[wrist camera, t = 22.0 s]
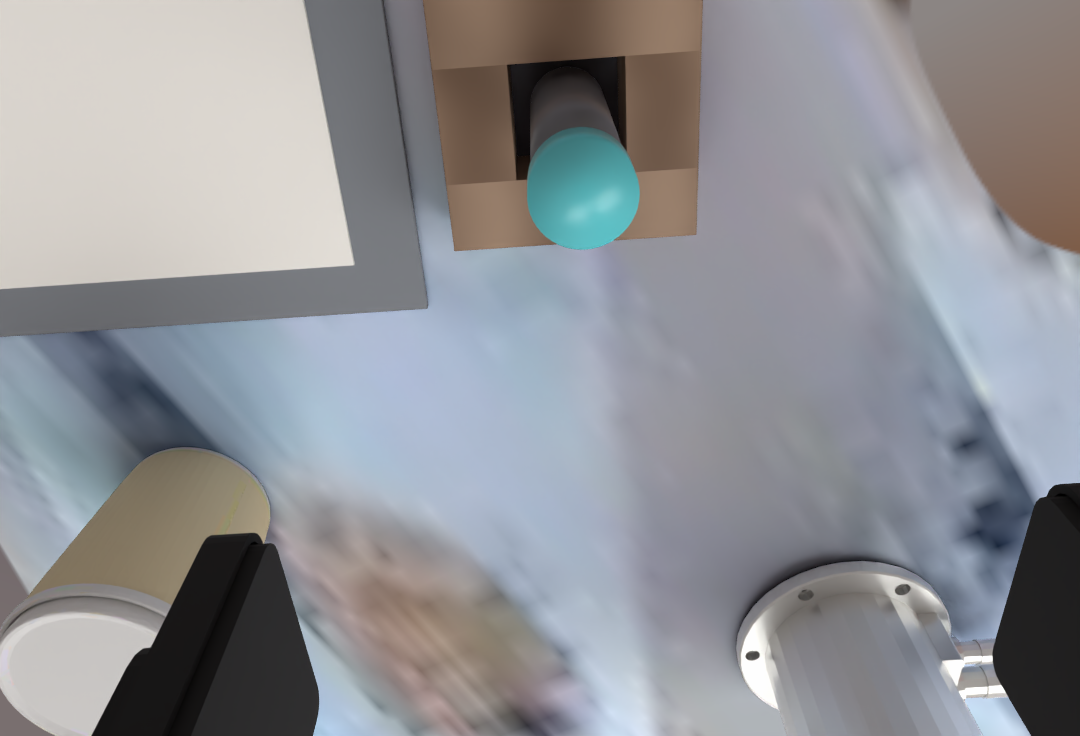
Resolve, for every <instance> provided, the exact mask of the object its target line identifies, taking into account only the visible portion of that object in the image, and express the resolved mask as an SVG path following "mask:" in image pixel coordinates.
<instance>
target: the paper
mask: <svg viewBox="0 0 1080 736" xmlns="http://www.w3.org/2000/svg"><path fill="white" fill-rule="evenodd" d="M354 264H355V262H354V257H353V252H352V246H351V241H350V236H349V231H348V225H347V220H346V215H345V210H344V205H343V199H342V194H341V189H340V184H339V178H338V173H337V168H336V163H335V158H334V152H333V147H332V142H331V137H330V131H329V126H328V121H327V116H326V111H325V105H324V100H323V95H322V90H321V85H320V79H319V74H318V69H317V64H316V58H315V53H314V48H313V43H312V38H311V32H310V27H309V22H308V17H307V11H306V6H305V1H304V0H0V289H11V288H26V287H40V286H55V285H70V284H85V283H100V282H115V281H129V280H144V279H159V278H174V277H189V276H203V275H218V274H233V273H248V272H263V271H278V270H292V269H307V268H322V267H337V266H352V265H354Z"/></svg>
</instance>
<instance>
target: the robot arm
mask: <svg viewBox="0 0 1080 736" xmlns="http://www.w3.org/2000/svg"><path fill="white" fill-rule="evenodd" d="M736 652H737V660H738V664H739V667H740V670H741V673H742V677H743V679H744V681H745V682H746V684H747V686H748V687H749V689H750V690H751V691H752V692H753V693H754V694H755V695H756V696H757V697H758V698H759V699H760V700H762V701H764V702H765V703H767V704H768V705H770V706H772V707H773V708H776V709H778V710H779V711H780V715H781V718H782V721H783V725H784V728H785V731H786V734H787V736H983V735H982V733H981V731H980V729H979V727H978V725H977V723H976V721H975V720H974V718H973V716H972V714H971V712H970V710H969V708H968V707H967V705H966V703H965V698H975V697H982V698H983V699H984V698H1002V697H1009V699H1010V701H1011V702H1012V704H1013V706H1014V707H1015V709H1016V711H1017V713H1018V714H1019V716H1020V718H1021V719H1022V721H1023V723H1024V724H1025V726H1026V728H1027V729H1028V731H1029V733H1030V734H1031V736H1080V483H1072V484H1059V485H1055V486H1053V487H1052V488H1051V489H1050V490H1049V492H1048V495H1047V497H1043V498H1040V499H1039V500H1038V501H1037V502H1036V504H1035V506H1034V509H1033V512H1032V516H1031V519H1030V523H1029V526H1028V529H1027V533H1026V536H1025V540H1024V543H1023V547H1022V550H1021V554H1020V557H1019V560H1018V564H1017V567H1016V571H1015V574H1014V578H1013V581H1012V585H1011V588H1010V591H1009V595H1008V598H1007V602H1006V605H1005V609H1004V612H1003V616H1002V619H1001V622H1000V626H999V629H998V633H997V636H996V639H980V640H973V641H965V642H959V640H958V639H957V638H955V637H951V622H950V618H949V614H948V611H947V610H946V608H945V606H944V604H943V602H942V600H941V599H940V597H939V595H938V594H937V593H936V592H935V590H934V589H933V588H932V587H931V585H930V584H929V583H927V582H926V581H925V580H923V579H922V578H921V577H919V576H918V575H916V574H914V573H912V572H910V571H908V570H906V569H903V568H901V567H897V566H893V565H889V564H885V563H879V562H868V561H855V562H840V563H835V564H830V565H825V566H820V567H817V568H814V569H811V570H808V571H805V572H802V573H800V574H798V575H796V576H794V577H792V578H790V579H788V580H786V581H784V582H782V583H781V584H779V585H778V586H776V587H775V588H774V589H772V590H771V591H769V592H768V593H766V594H765V595H764V596H763V597H762V598H761V599H760V600H759V601H758V602H757V603H756V604H755V605H754V606H753V607H752V609H751V610H750V612H749V613H748V615H747V616H746V617H745V619H744V620H743V623H742V625H741V628H740V630H739V633H738V637H737V644H736ZM964 664H976V665H975V666H964ZM318 710H319V691H318V686H317V683H316V679H315V676H314V672H313V669H312V666H311V662H310V659H309V656H308V652H307V649H306V645H305V642H304V639H303V635H302V632H301V629H300V625H299V622H298V618H297V615H296V612H295V608H294V605H293V601H292V598H291V595H290V591H289V588H288V585H287V581H286V578H285V574H284V571H283V568H282V564H281V561H280V558H279V554H278V551H277V549H276V547H275V545H274V544H271V543H269V544H263V542H262V539H261V537H260V536H259V535H258V534H257V533H239V534H223V535H210V536H209V537H207V538H206V539H205V541H204V542H203V544H202V545H201V547H200V549H199V551H198V553H197V555H196V557H195V559H194V561H193V563H192V565H191V567H190V569H189V572H188V574H187V576H186V578H185V580H184V582H183V584H182V586H181V588H180V590H179V592H178V594H177V596H176V598H175V600H174V602H173V604H172V606H171V608H170V610H169V612H168V614H167V616H166V618H165V620H164V622H163V624H162V626H161V628H160V630H159V632H158V634H157V636H156V638H155V640H154V642H153V644H152V646H151V647H150V648H143V649H142V650H140V651H139V652H138V653H137V654H135V655H134V657H133V658H132V660H131V661H130V663H129V664H128V666H127V668H126V669H125V671H124V673H123V675H122V677H121V679H120V681H119V683H118V685H117V687H116V689H115V691H114V693H113V695H112V697H111V698H110V700H109V702H108V704H107V706H106V708H105V710H104V712H103V714H102V716H101V718H100V720H99V722H98V724H97V726H96V728H95V729H94V731H93V733H92V735H91V736H313V733H314V729H315V725H316V721H317V716H318Z"/></svg>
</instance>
